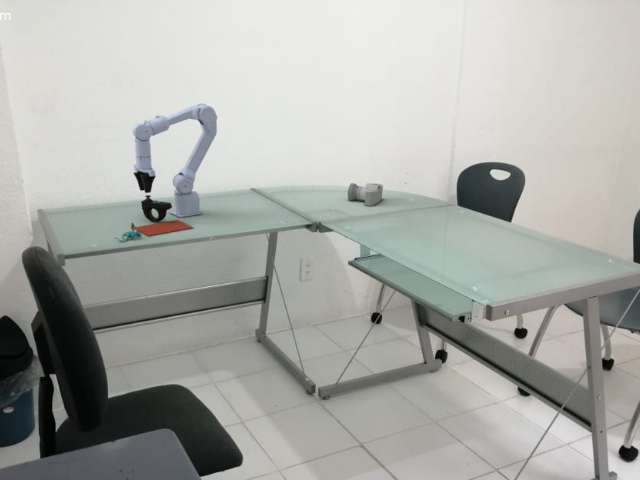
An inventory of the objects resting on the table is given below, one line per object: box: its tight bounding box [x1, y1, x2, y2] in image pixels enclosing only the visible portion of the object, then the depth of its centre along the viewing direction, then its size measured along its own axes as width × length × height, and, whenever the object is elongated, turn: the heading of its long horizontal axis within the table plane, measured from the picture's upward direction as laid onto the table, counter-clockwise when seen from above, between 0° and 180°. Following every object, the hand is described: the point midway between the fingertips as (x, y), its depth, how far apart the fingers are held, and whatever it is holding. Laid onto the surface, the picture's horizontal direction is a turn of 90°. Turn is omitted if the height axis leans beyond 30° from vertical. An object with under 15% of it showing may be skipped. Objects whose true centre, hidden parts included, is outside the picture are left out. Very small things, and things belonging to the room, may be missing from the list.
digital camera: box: [347, 182, 384, 207], centre depth 270 cm, size 17×14×10 cm
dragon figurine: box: [113, 221, 143, 243], centre depth 212 cm, size 7×7×8 cm
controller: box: [140, 194, 173, 223], centre depth 232 cm, size 4×12×10 cm, turn 72°
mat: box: [134, 219, 194, 237], centre depth 226 cm, size 18×12×1 cm, turn 128°
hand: (145, 191), depth 235 cm, fingers open, 4 cm apart
